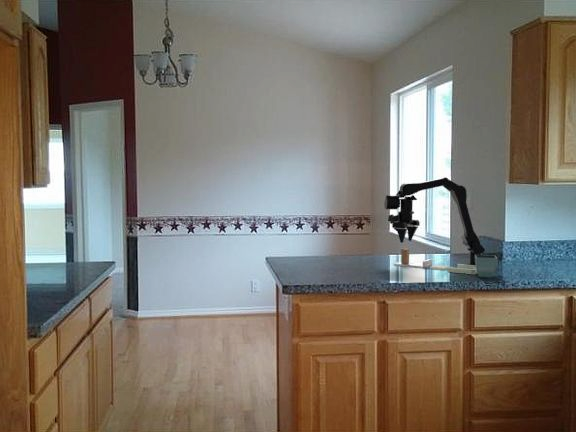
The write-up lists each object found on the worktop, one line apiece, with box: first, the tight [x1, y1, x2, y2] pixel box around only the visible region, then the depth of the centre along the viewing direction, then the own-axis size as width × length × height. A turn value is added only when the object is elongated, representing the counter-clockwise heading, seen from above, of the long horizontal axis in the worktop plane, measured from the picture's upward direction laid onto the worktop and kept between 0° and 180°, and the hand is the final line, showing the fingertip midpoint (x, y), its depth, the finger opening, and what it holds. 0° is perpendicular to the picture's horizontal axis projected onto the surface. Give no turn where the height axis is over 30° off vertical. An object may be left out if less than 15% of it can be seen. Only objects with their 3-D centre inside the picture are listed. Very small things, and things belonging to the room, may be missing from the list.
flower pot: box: [475, 254, 499, 279], centre depth 273 cm, size 9×9×9 cm
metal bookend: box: [393, 248, 433, 269], centre depth 303 cm, size 16×8×8 cm, turn 55°
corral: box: [447, 263, 478, 275], centre depth 288 cm, size 13×12×2 cm
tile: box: [429, 264, 450, 271], centre depth 295 cm, size 7×7×2 cm
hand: (405, 241), depth 304 cm, fingers open, 9 cm apart
